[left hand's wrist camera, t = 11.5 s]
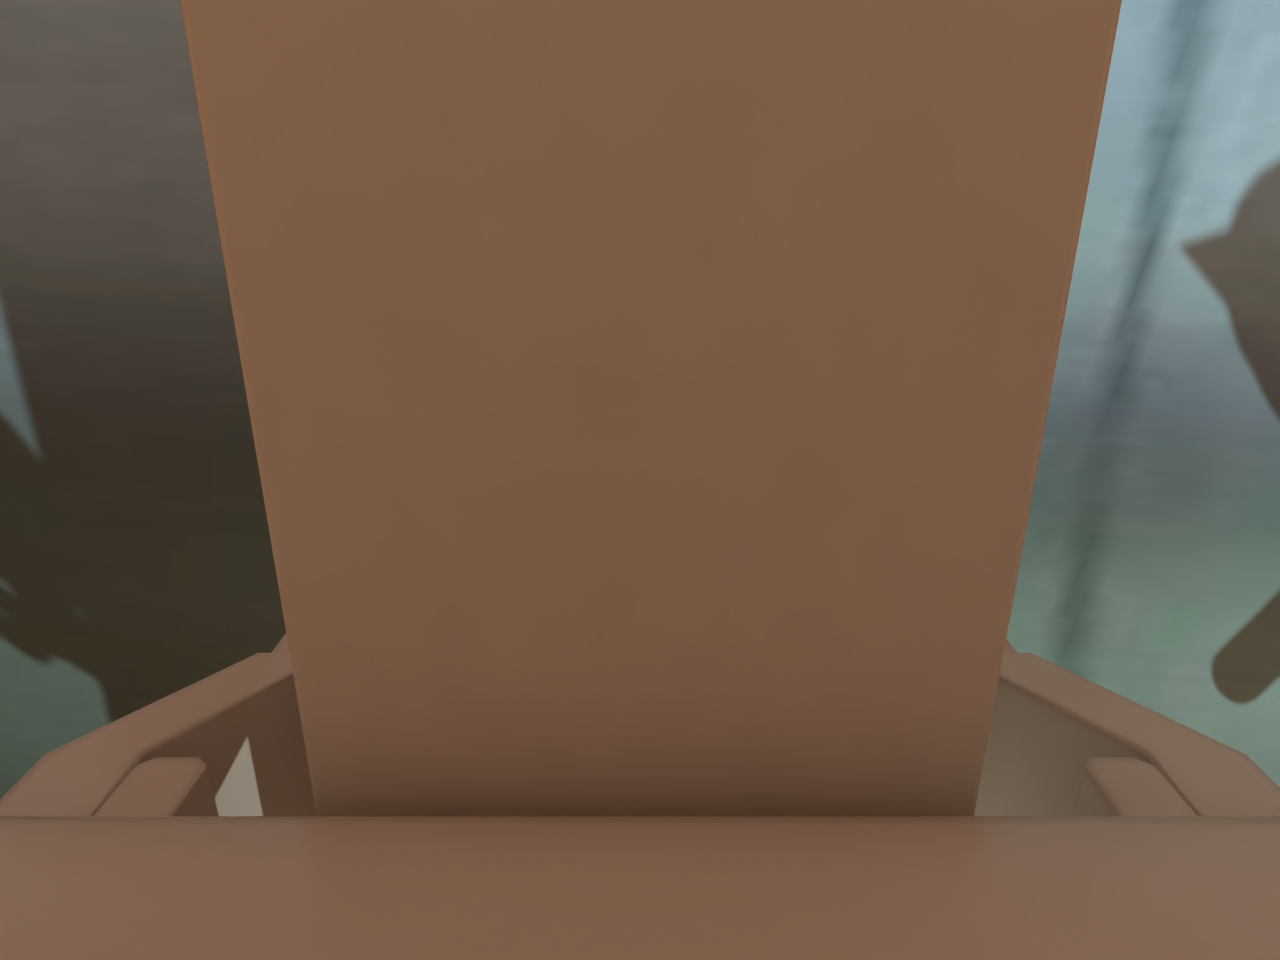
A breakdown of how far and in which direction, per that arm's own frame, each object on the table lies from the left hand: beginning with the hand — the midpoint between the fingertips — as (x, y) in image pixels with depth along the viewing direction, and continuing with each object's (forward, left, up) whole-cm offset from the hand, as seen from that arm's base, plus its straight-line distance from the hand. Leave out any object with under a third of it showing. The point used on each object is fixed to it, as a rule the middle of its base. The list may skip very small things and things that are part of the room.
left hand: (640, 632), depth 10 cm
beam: (+26, 0, -3) cm, 26 cm away
